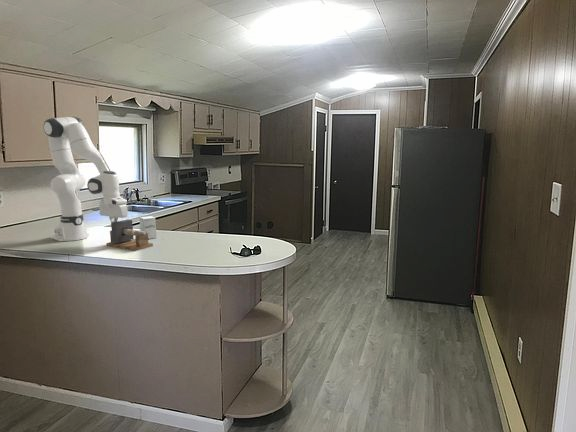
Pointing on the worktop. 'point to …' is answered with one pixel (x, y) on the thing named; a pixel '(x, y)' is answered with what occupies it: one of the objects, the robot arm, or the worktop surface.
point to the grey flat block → (117, 231)
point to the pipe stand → (131, 244)
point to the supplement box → (148, 226)
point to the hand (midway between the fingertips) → (114, 224)
